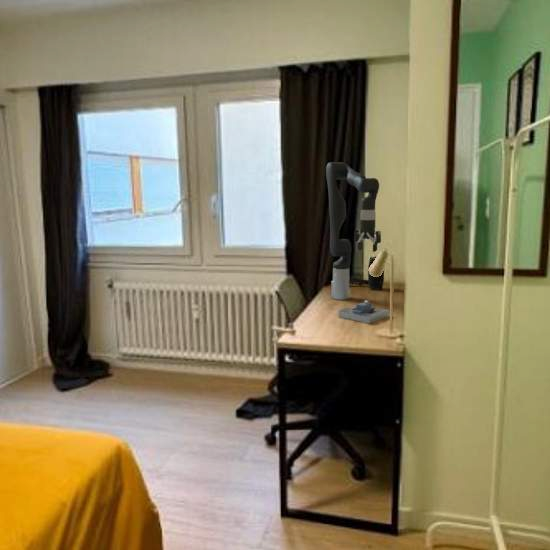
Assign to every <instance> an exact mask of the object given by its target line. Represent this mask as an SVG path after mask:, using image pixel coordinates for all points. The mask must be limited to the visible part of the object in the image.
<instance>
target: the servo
mask: <svg viewBox="0 0 550 550" xmlns="http://www.w3.org/2000/svg"><path fill="white" fill-rule="evenodd" d="M375 308H376V307H375V306H372V302H369V300H364V301H363V302H360V303H357V304H356V310H354V311H353V313H357V314H361V313H370V314H372V312H371V310H373V309H375Z"/></svg>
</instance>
